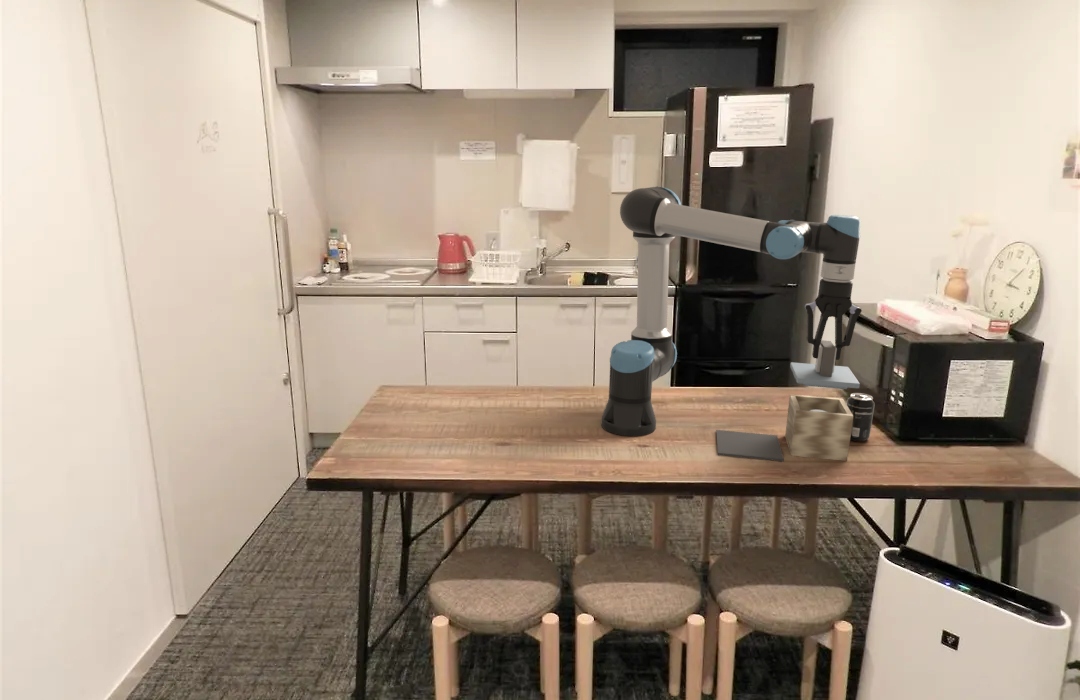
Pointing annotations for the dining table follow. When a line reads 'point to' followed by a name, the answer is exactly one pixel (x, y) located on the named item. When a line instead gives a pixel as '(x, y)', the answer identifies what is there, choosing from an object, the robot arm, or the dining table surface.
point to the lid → (825, 371)
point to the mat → (749, 445)
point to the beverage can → (861, 415)
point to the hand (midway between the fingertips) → (823, 370)
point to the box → (818, 427)
